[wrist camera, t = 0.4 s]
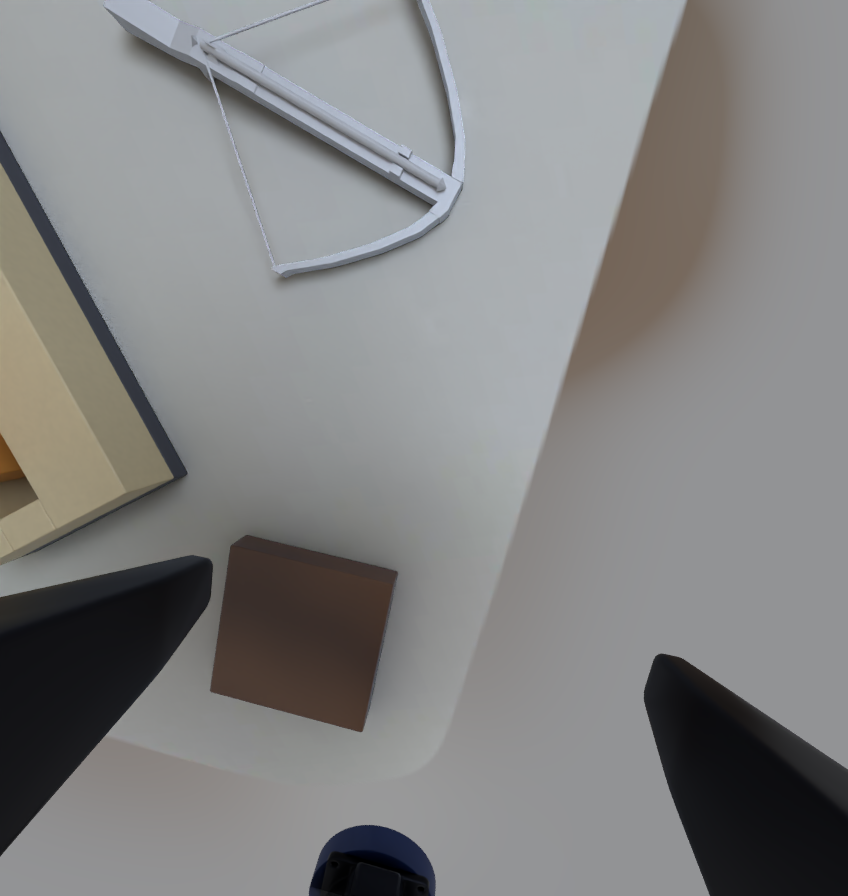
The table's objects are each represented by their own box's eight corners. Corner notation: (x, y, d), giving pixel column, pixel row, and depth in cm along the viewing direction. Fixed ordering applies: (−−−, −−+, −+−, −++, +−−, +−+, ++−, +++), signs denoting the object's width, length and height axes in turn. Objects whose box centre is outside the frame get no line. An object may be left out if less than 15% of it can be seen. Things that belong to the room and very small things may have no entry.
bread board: (368, 710, 22) (362, 733, 21) (225, 672, 23) (209, 692, 22) (398, 570, 21) (393, 584, 20) (246, 534, 22) (229, 544, 20)
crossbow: (528, 68, 18) (539, 30, 16) (388, 336, 20) (383, 332, 18) (190, -140, 17) (157, -208, 15) (82, 162, 20) (40, 138, 18)
